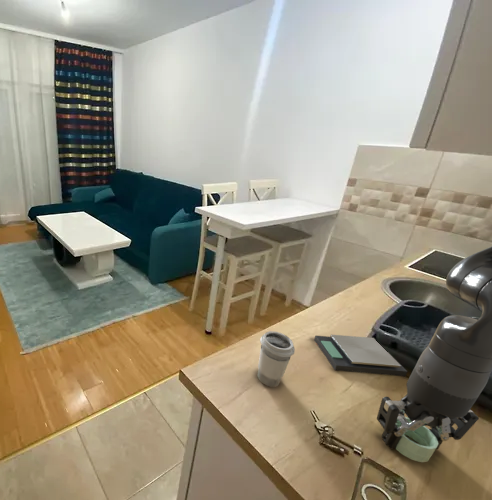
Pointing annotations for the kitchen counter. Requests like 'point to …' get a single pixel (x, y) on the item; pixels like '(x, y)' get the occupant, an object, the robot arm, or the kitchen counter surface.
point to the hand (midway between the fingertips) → (407, 446)
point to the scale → (343, 364)
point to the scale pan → (364, 351)
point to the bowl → (414, 450)
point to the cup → (274, 357)
